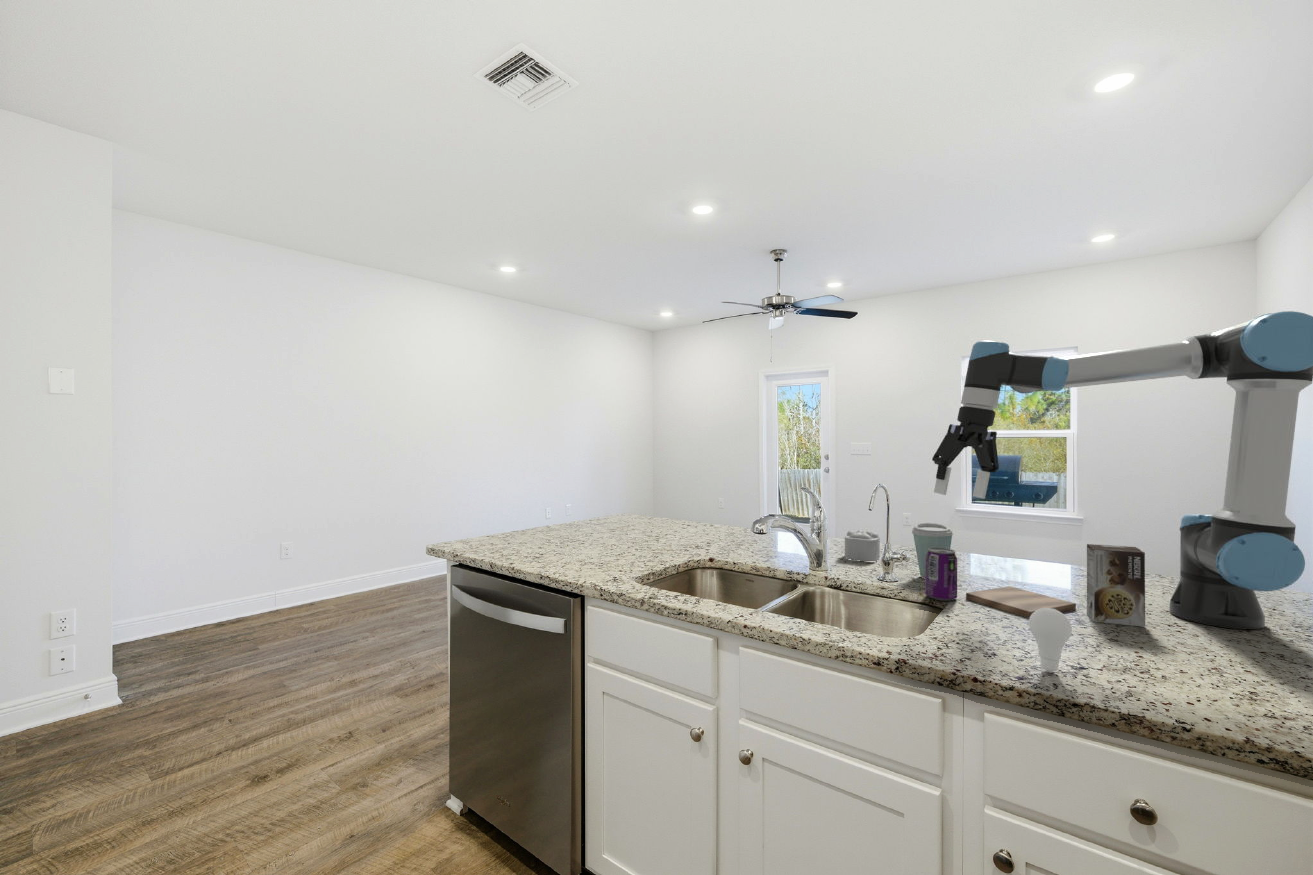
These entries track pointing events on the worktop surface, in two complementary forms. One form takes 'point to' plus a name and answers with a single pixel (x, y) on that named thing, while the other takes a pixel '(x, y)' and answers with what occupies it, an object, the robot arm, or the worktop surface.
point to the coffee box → (1116, 584)
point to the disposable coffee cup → (930, 541)
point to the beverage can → (941, 574)
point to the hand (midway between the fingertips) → (959, 495)
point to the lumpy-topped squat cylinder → (862, 546)
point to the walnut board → (1018, 600)
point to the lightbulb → (1050, 635)
